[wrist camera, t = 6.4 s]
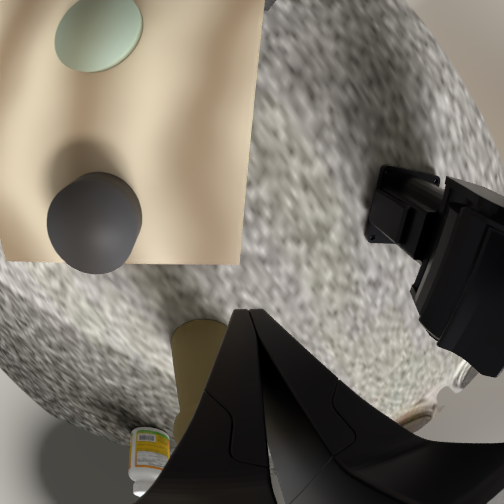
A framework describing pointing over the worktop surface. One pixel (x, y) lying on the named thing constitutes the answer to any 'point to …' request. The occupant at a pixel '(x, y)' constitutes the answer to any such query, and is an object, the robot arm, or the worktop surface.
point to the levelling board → (126, 130)
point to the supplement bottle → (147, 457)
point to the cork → (193, 365)
